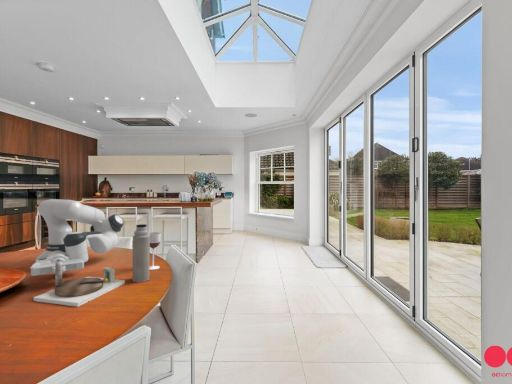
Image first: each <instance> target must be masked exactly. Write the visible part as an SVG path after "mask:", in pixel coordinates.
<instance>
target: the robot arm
mask: <svg viewBox="0 0 512 384" xmlns="http://www.w3.org/2000/svg"><path fill="white" fill-rule="evenodd" d="M37 212H38V214H39V215H41V216H42V218H43V219H44V221H45V223H46V227H47V229H48V230H47V231H48V243H47V244H46V245H44V247H45V250H44V251H43V252H42V253H40V254H39V255H38V256H37V257H36V258H35V262H34V263H33V264H32V265H31V266H29V269H30V276H32V277H34V276H36V277H37V276H43V275H48V274H51V275H52V274H54V275H55V266H56V263H57V262H62V273H64V272H68V271H69V272H70V271H75V270H82V269H84V268H85V265H86V263H88V261H89V254H88V253H89V251H88V245H87V241H88V243H89V247H90V249H91V250H92V251H93V252H94V253H97V254H105V253H108V252H109V251H111V250H112V249H114V248H115V246H117V244H119V236H118V235H117V234H118V233H119V232H121V230H122V228H123V226H124V220H123V217H121V216H120V215H118V214H112V215H109V216H108V217H107V218H106V214H105V212H104V211H102V210H101V209H99V208H97V207H94V206H91V205H87V204H82V203H81V202H79V201H78V200H72V199H62V198H61V199H58V198H57V199H55V198H50V199H46V200H43V201H41V202H40V203H39V205H38V207H37ZM67 220H68V221H69V220H70V221H73V222H75V223H81V224H87V225H91V226H90V228H89V230H90V231H83V232H82V231H73V228H72V227H71V226H70V224H69V223H68V221H67Z"/></svg>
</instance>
